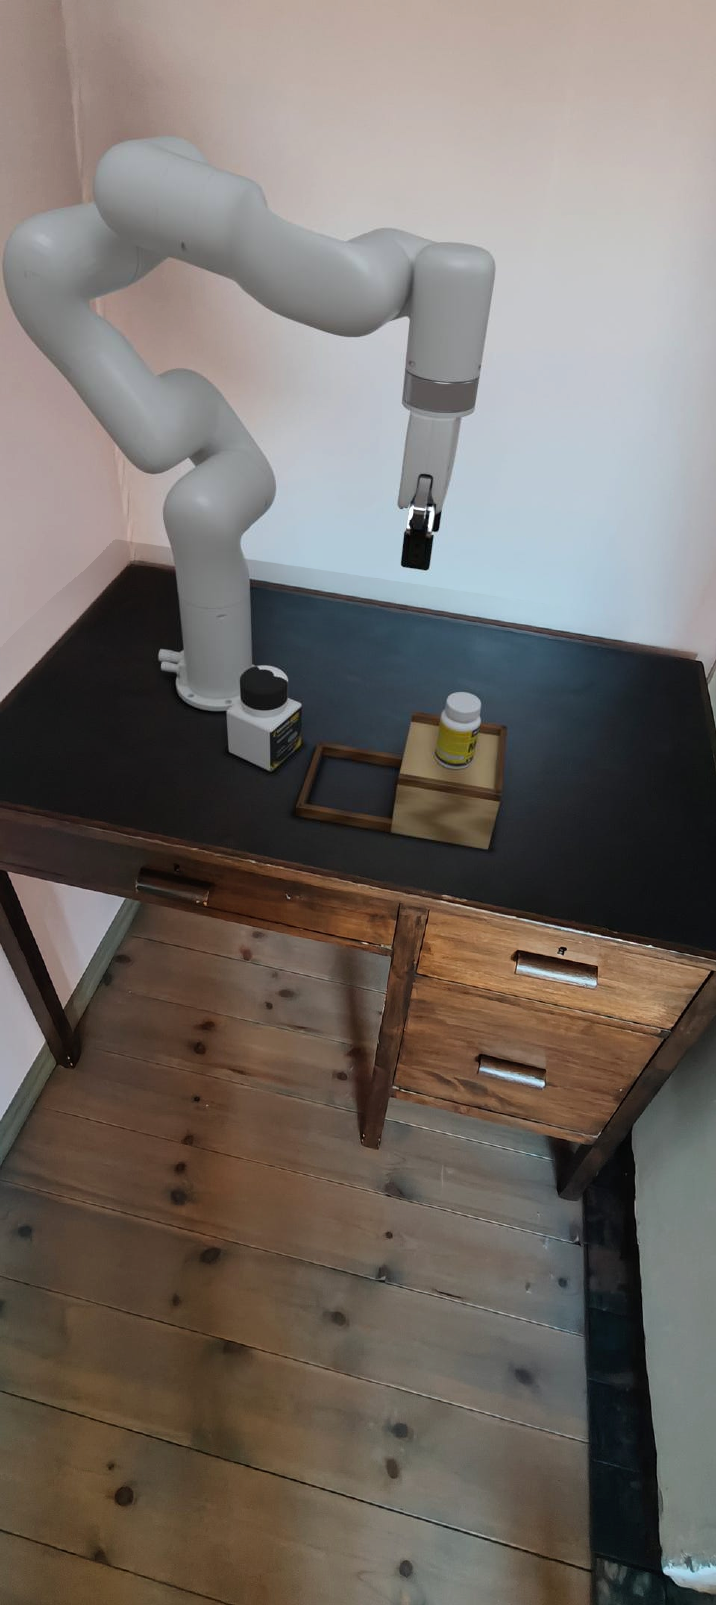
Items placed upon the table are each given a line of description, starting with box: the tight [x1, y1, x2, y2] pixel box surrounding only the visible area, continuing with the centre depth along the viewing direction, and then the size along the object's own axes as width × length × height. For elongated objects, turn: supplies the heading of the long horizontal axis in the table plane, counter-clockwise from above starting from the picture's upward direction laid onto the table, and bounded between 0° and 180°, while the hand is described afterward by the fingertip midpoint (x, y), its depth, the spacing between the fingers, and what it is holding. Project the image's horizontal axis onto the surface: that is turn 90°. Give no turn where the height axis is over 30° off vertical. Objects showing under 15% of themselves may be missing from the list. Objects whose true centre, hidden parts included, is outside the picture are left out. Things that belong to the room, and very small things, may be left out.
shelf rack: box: [295, 710, 508, 850], centre depth 103 cm, size 24×13×9 cm, turn 79°
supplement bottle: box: [434, 691, 482, 769], centre depth 97 cm, size 5×5×8 cm
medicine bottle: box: [226, 664, 303, 772], centre depth 108 cm, size 7×7×12 cm
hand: (420, 547), depth 96 cm, fingers open, 9 cm apart
